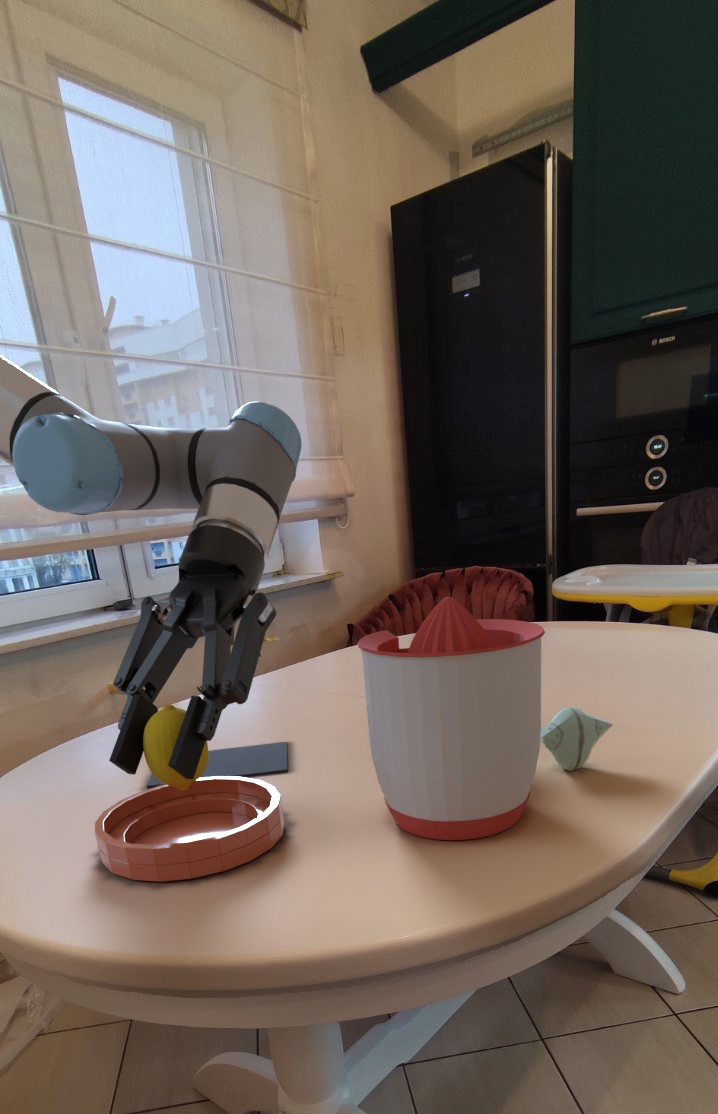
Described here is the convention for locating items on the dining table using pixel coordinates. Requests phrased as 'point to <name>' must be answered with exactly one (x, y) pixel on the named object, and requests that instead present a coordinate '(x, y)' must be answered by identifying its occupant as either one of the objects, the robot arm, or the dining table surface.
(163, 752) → the lemon
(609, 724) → the pale green angular piece
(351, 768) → the dining table surface
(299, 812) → the dining table surface
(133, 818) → the bowl
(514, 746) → the citrus juicer
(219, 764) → the mat
